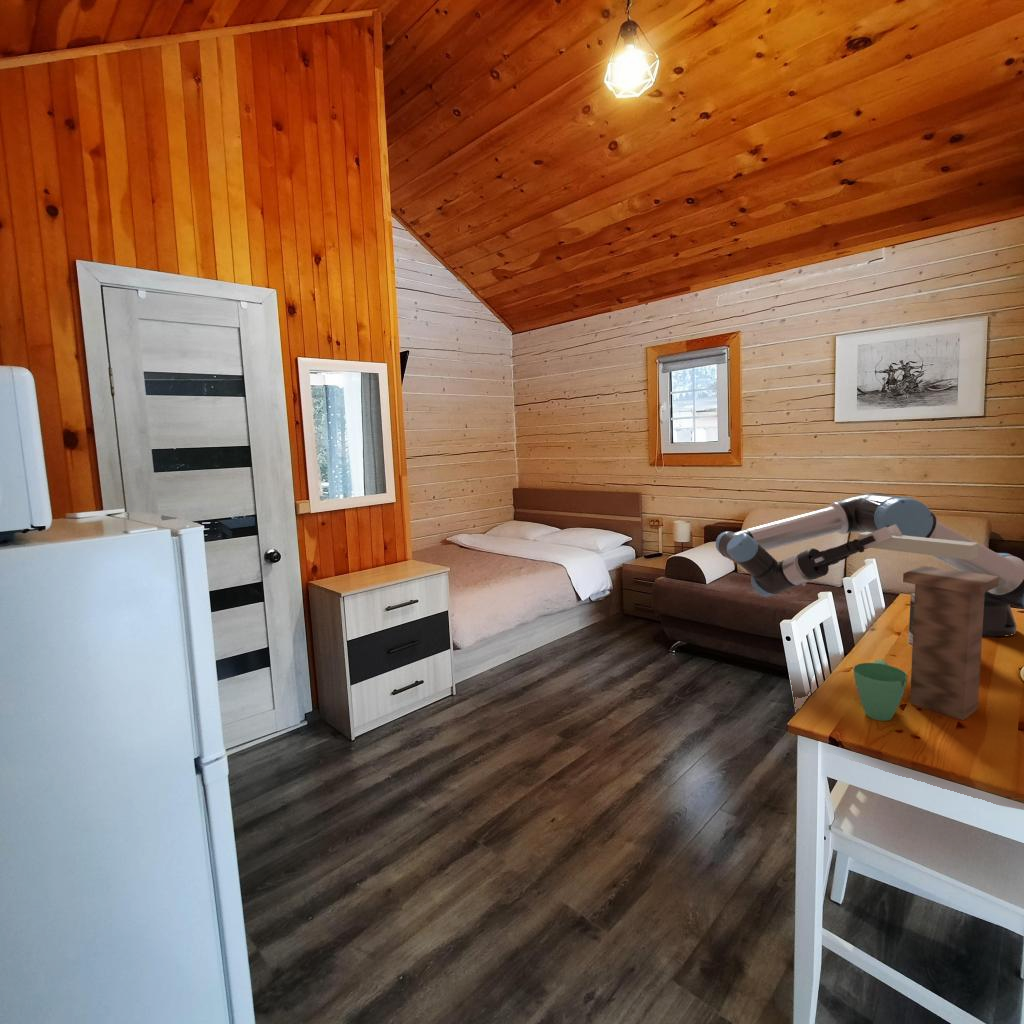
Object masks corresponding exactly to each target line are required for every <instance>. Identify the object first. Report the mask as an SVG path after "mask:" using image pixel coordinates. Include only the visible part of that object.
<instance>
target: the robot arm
mask: <svg viewBox="0 0 1024 1024" xmlns="http://www.w3.org/2000/svg"><path fill="white" fill-rule="evenodd" d="M863 532H872V533H870V534H867V535H865V536H862V537H860V538H859V540H858V538H855V539H853V540H851V541H850V540H849V541H847V542H845V543H843V544H841V545H838V546H834V547H830V548H827V549H824V550H821V551H820V550H819V549H817V548H812V547H811V548H808V549H806V550H804V551H801V552H800V553H797V554H795V555H792V556H790V557H787V558H785V559H783V560H780V561H778V560H776V558H774V556H772V555H771V554H770V553H769V552H768V551H770V550H774V549H777V548H782V547H785V546H789V545H793V544H797V543H800V542H806V541H808V540H811V539H817V538H820V537H824V536H827V535H830V534H831V535H832V534H835V533H837V534H840V535H845V534H849V533H863ZM891 534H895V535H905V536H914V537H924V538H934V539H944V540H954V541H964V542H974V543H978V557H976V558H974V559H971V560H967V559H959V558H950V557H942V556H934V555H930V556H931V557H932V558H935V559H937V560H939V561H940V562H942V563H944V564H946V565H948V566H949V567H950V566H951V568H954V569H956V570H957V571H963V572H971V573H978V574H985V575H992V576H999V586H997V587H995V588H993V589H991V590H989V591H987V592H985V597H984V613H983V630H982V636H983V637H985V635H987V636H986V637H994V636H1005V635H1011V634H1014V633H1016V634H1017V623H1016V621H1015V617H1014V615H1013V611H1012V608H1011V606H1014V607H1016V608H1020V609H1022V610H1024V560H1023V559H1022V558H1019V557H1017V556H1015V555H1013V554H1010V553H1007V552H995V551H993V550H992V549H990V548H988V547H986V546H985V545H982V544H981V543H979V542H977V541H975V540H973V539H970V538H969V537H967V536H965V535H963V534H962V533H960V532H958V531H955V530H954V529H952V528H950V527H948V526H946V525H944V524H942V523H940V522H939V521H938V517H937V515H936V514H935V513H934V512H932V511H931V510H930V509H929V507H928V506H927V505H926V504H925V503H923V502H921V501H919V500H917V499H915V498H912V497H908V496H897V495H891V494H887V493H886V494H885V493H880V492H879V493H878V492H867V493H863V494H859V495H856V496H852V497H849V498H848V497H847V498H844V499H841V500H838V501H834V502H831V503H830V504H829V506H828V507H825V508H821V509H817V510H814V511H810V512H807V513H803V514H799V515H795V516H792V517H788V518H785V519H781V520H776V521H773V522H770V523H765V524H763V525H762V524H761V525H759V526H755V527H750V528H747V529H744V530H740V531H736V532H735V531H724V532H721V533H720V534H718V535H717V538H716V539H715V548H716V550H717V552H718V553H719V554H721V556H723V558H727V559H728V560H730V561H732V562H734V563H735V564H737V565H739V566H740V567H741V568H743V570H745V571H746V572H747V573H748V574H750V575H751V577H750V583H751V587H752V588H754V591H755V593H757V594H758V595H759V596H761V597H765V598H767V597H772V596H774V595H779V594H781V593H782V592H783V593H784V592H785V591H787V590H790V589H793V588H795V587H798V586H800V585H801V586H803V587H805V586H806V585H807V583H808V582H810V581H813V580H817V579H819V578H822V577H824V576H826V575H827V574H828V573H829V570H830V568H829V566H833V565H836V564H838V563H839V562H841V561H843V560H846V559H848V558H849V557H850V556H852V555H854V554H856V553H861V554H862V553H864V552H865V550H867V549H870V548H869V547H870V546H872V545H875V544H877V543H880V542H882V541H885V540H887V539H890V538H892V535H891ZM862 546H863V547H862Z"/></svg>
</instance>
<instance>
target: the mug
mask: <svg viewBox="0 0 1024 1024" xmlns="http://www.w3.org/2000/svg"><path fill="white" fill-rule="evenodd" d="M853 675H854V681H855V687H856V689H857V693H858V697H859V700H860V703H861V705H862V708H863V711H864V713H865V715H866V716H867V717H868V718H870V719H873V720H876V721H881V722H883V721H885V722H887V721H890V720H892V718H893V716H894V715H895V713H896V712H897V709H898V707H899V705H900V703H901V701H902V698H903V695H904V693H905V690H906V688H907V687H906V686H907V684H908V683H907V682H908V677H909V675H908V674H907V672H905V671H904V670H902V669H900V668H897V667H895V666H892V665H888V663H887V661H884V660H881V659H879V660H875V661H874V662H864V663H863V662H862V663H858V664H856V665H854V666H853Z"/></svg>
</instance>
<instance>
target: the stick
mask: <svg viewBox="0 0 1024 1024" xmlns="http://www.w3.org/2000/svg"><path fill="white" fill-rule="evenodd" d="M870 533H872V532H859V533H858V538H857V539H858V540H859V538H860V537H862V536H865V535H867V534H870ZM891 535H892V538H890V539H887V540H885V541H882V542H880V543H877V544H875V545H872V546H870V547H869V548H868V549H879V550H885V551H886V550H887V551H895V552H904V553H909V554H910V553H912V554H918V555H926V556H931V555H934V556H942V557H950V558H959V559H967V560H971V559H974V558H976V557H978V543H979V542H977V543H974V542H964V541H954V540H944V539H934V538H924V537H914V536H905V535H895V534H891ZM862 547H863V546H862Z"/></svg>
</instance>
